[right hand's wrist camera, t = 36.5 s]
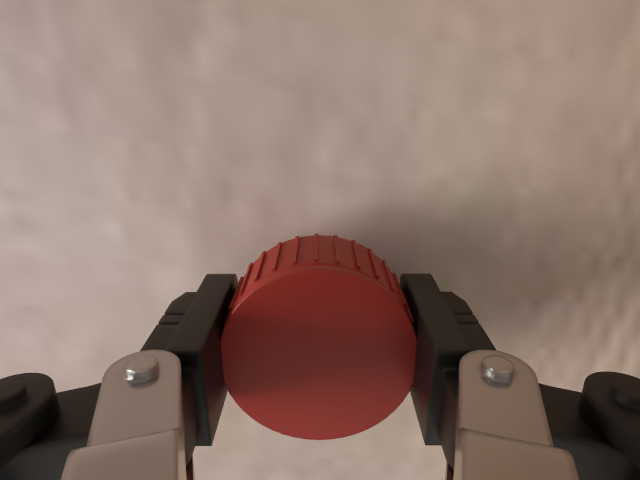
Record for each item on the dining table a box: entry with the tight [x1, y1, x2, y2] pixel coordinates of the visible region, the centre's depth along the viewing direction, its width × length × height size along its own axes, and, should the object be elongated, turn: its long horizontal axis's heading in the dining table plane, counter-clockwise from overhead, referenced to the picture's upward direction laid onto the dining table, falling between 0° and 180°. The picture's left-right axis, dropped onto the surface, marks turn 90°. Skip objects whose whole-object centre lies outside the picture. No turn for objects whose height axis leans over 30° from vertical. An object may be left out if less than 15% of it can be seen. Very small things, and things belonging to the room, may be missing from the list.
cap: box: [220, 234, 417, 440], centre depth 11 cm, size 4×4×2 cm
